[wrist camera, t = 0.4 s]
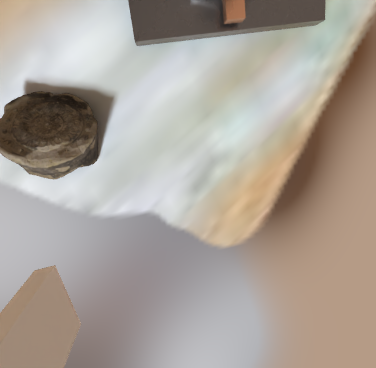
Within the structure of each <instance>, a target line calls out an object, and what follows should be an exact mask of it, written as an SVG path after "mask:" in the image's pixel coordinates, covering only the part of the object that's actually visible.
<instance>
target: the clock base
mask: <svg viewBox="0 0 376 368" xmlns="http://www.w3.org/2000/svg"><path fill="white" fill-rule="evenodd" d="M128 1H129V7H130V14H131V20H132V26H133V32H134V39H135V43H136V45H137V46H141V45H150V44H158V43H167V42H176V41H184V40H193V39H202V38H210V37H219V36H228V35H236V34H245V33H254V32H262V31H271V30H280V29H288V28H297V27H306V26H314V25H317V24H319V23H321V22H322V21H324V20H325V0H245V17H246V18H245V19H244V20H243V21H242V22H239V23H230V24H224V17H223V4H222V0H128Z"/></svg>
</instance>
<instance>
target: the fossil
mask: <svg viewBox="0 0 376 368" xmlns="http://www.w3.org/2000/svg"><path fill="white" fill-rule="evenodd" d="M97 126H98V124H97V121H96V119H95V118H94V116H93V113H92V111H91V108H90V106H89V105H88V103H87V102H85V101H83V100H82V99H80V98H78V97H76V96H74V95H72V94H68V93H64V94H55V95H53V94H52V93H50V92H46V93H45V92H42V91H40V92H33V93H31V94H27V95H23V96H21V97H18V98H16V99H14V100H12V101H11V102H9V103H8V104H6V105H5V107H4V115H3V116H2V118H1V119H0V153H1V154H2V155H3V156H4V157H6V158H7V159H9V160H11V161H13V162H15V163H17V164H19V165H20V166H21V167H23V168H24V169H25V170H26V171H27V172H28V173H29V174H32V175H37V176H40V177H44V178H48V179H58V178H60V177H63V176H65V175H66V174H68V173H71V172H72V171H74V170H75V169H77V168H78V167H83V166H89V165H91V164H94V163H95V162H96V161H97V158H98V133H97Z"/></svg>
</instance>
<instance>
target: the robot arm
mask: <svg viewBox="0 0 376 368" xmlns="http://www.w3.org/2000/svg"><path fill="white" fill-rule="evenodd" d="M80 325H81V323H80V320H79V318H78V316H77V314H76V311H75V309H74V307H73V305H72V302H71V300H70V298H69V296H68V294H67V291H66V289H65V287H64V284H63V282H62V280H61V278H60V276H59V273H58V271H57V269H56V266H55V265H54V266H51V267H46V268H42V269H38V270H35V271H34V272H33V273H32V275H31V276H30V277H29V278H28V280H27V281H26V282H25V283H24V284H23V286H22V287H21V288H20V290H19V291H18V292H17V293H16V294H15V295H14V297H13V298H12V299H11V300H10V302H9V303H8V304H7V305H6V307H5V308H4V309H3V310H2V312H1V313H0V368H64V366H65V363H66V361H67V358H68V356H69V353H70V350H71V348H72V345H73V343H74V340H75V338H76V335H77V333H78V330H79V328H80Z"/></svg>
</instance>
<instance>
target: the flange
mask: <svg viewBox="0 0 376 368" xmlns="http://www.w3.org/2000/svg"><path fill="white" fill-rule="evenodd" d="M222 4H223V17H224V24H230V23H239V22H242V21H243V20H244V19H245V18H246V17H245V0H222Z"/></svg>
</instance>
